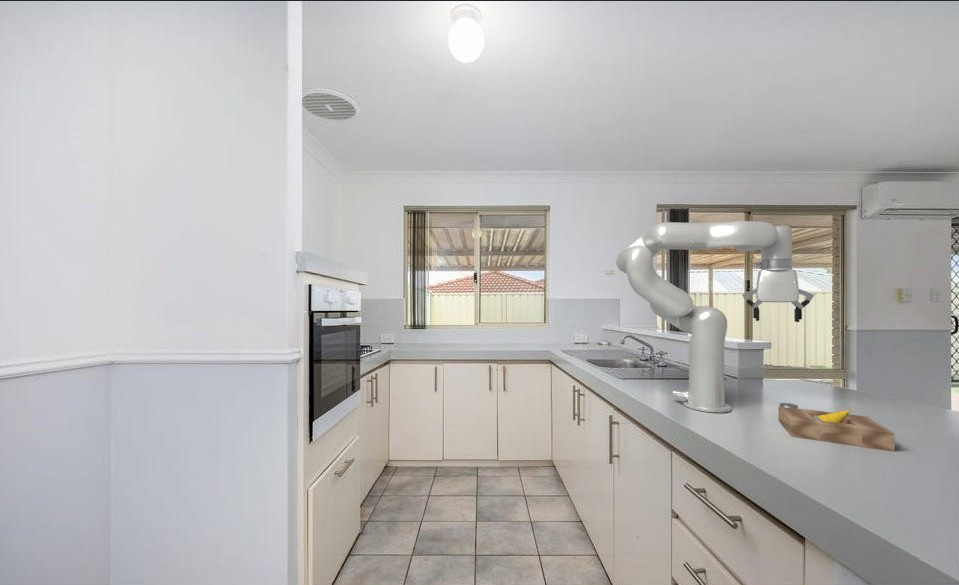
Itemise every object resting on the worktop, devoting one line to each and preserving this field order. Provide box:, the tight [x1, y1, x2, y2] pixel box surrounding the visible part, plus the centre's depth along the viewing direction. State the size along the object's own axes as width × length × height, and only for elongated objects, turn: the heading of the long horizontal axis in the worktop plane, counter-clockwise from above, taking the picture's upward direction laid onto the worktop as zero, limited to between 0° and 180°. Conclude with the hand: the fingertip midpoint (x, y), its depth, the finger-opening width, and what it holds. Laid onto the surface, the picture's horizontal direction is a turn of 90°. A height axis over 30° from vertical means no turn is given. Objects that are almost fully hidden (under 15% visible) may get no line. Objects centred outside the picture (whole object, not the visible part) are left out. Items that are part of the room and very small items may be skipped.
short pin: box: [779, 402, 799, 409], centre depth 106 cm, size 4×4×4 cm
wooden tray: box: [778, 405, 896, 452], centre depth 93 cm, size 18×14×4 cm
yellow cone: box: [813, 409, 851, 423], centre depth 93 cm, size 5×5×10 cm
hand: (776, 321), depth 115 cm, fingers open, 9 cm apart
